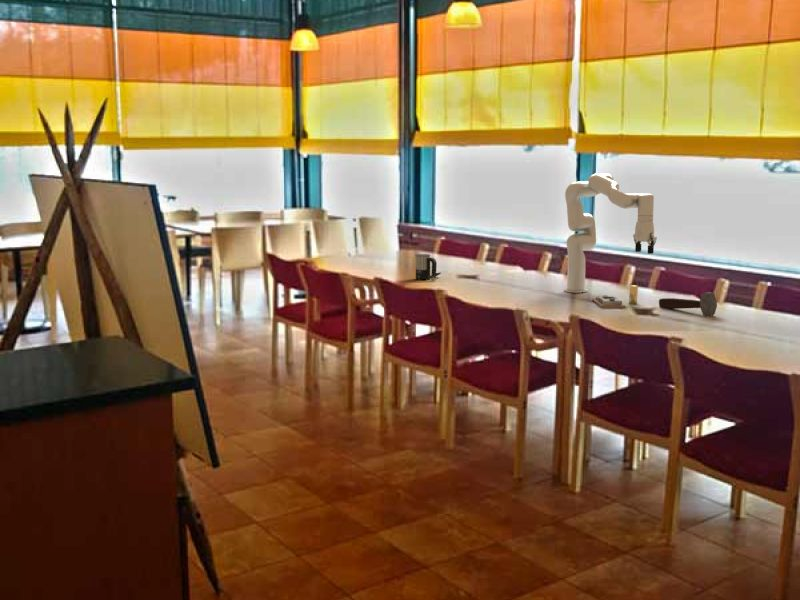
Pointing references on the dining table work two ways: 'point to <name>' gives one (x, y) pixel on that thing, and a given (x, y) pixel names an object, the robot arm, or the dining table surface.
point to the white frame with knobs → (608, 302)
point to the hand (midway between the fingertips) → (644, 252)
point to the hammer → (692, 303)
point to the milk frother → (425, 266)
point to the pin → (633, 294)
